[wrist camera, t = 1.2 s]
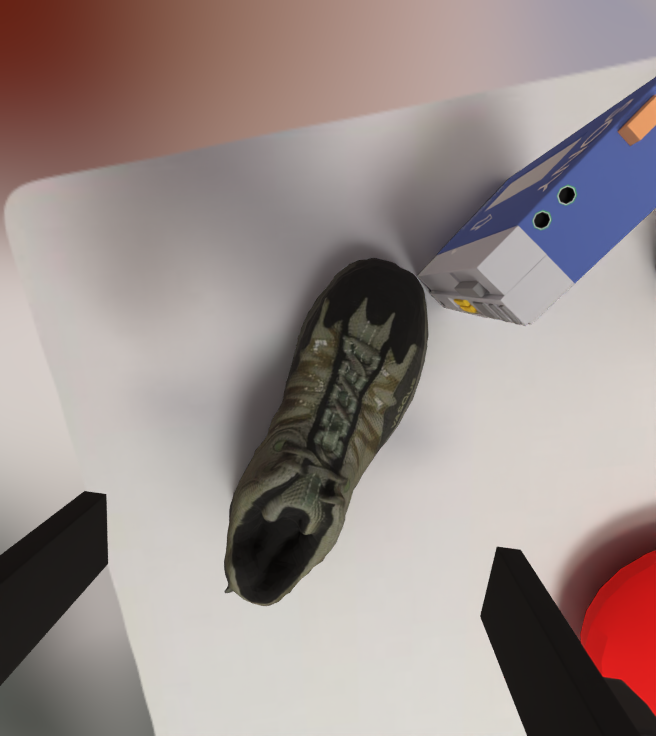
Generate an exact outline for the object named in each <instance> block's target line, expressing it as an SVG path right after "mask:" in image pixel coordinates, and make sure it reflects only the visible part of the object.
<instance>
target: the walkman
mask: <svg viewBox="0 0 656 736" xmlns="http://www.w3.org/2000/svg"><path fill="white" fill-rule="evenodd" d="M655 208H656V77H655V78H654V79H652V80H651V81H649V82H648V83H646V84H645V85H643V86H642V87H640V88H639V89H638V90H636V91H635V92H633V93H632V94H630V95H629V96H627V97H626V98H625V99H623V100H622V101H620V102H619V103H617V104H616V105H614V106H613V107H612V108H610V109H609V110H607V111H606V112H604V113H603V114H601V115H600V116H599V117H597V118H596V119H594V120H593V121H591V122H590V123H588V124H587V125H585V126H584V127H583V128H581V129H580V130H578V131H577V132H575V133H574V134H572V135H571V136H570V137H568V138H567V139H565V140H564V141H562V142H561V143H559V144H558V145H557V146H555V147H554V148H552V149H551V150H549V151H548V152H546V153H545V154H544V155H542V156H541V157H539V158H538V159H536V160H535V161H533V162H532V163H531V164H529V165H528V166H526V167H525V168H523V169H522V170H520V171H519V172H517V173H516V174H515V175H513V176H512V177H510V178H509V179H508V180H507V181H506V182H505V183H504V184H503V185H502V186H501V187H500V188H499V190H498V191H497V192H496V193H495V194H494V195H493V196H492V197H491V198H490V199H489V200H488V201H487V202H486V203H485V204H484V205H483V206H482V207H481V208H480V210H479V211H478V212H477V213H476V214H475V215H474V216H473V217H472V218H471V219H470V220H469V221H468V222H467V223H466V224H465V225H464V226H463V227H462V228H461V230H460V231H459V232H458V233H457V234H456V235H455V236H454V237H453V238H452V239H451V240H450V241H449V242H448V243H447V244H446V245H445V246H444V247H443V249H442V250H441V251H440V252H439V253H438V254H437V256H436V257H435V258H434V259H433V260H432V261H431V262H430V263H429V264H428V265H427V266H426V267H425V268H424V269H423V270H422V272H421V273H420V274H419V275H418V276H417V277H418V278H419V279H420V280H421V281H422V282H423V283H424V284H425V285H426V286H427V287H428V288H429V289H430V290H432V291H431V292H430V294H431V295H432V296H433V297H434V298H435V299H436V300H437V301H438V302H439V303H440V304H441V305H442V306H443V307H444V308H448V309H452V310H456V311H460V312H464V313H468V314H473V315H477V316H481V317H485V318H488V317H489V318H493V319H498V320H503V321H506V322H511V323H515V324H519V325H524V326H526V325H527V324H532V323H533V322H535V321H536V320H537V319H538V318H539V317H540V316H541V315H542V314H543V313H544V312H545V311H546V310H547V309H548V308H549V307H551V306H552V305H553V304H554V303H555V302H556V301H557V300H558V299H559V298H560V297H561V296H562V295H563V294H564V293H566V292H567V291H568V290H569V289H570V288H571V287H572V286H573V285H574V284H575V283H576V282H577V281H578V280H579V279H580V278H581V277H582V276H583V275H584V274H585V273H586V272H587V271H589V270H590V269H591V268H592V267H593V266H594V265H595V264H596V263H597V262H598V261H599V260H600V259H601V258H602V257H604V256H605V255H606V254H607V253H608V252H609V251H610V250H611V249H612V248H613V247H614V246H615V245H616V244H617V243H618V242H620V241H621V240H622V239H623V238H624V237H625V236H626V235H627V234H628V233H629V232H630V231H631V230H632V229H633V228H635V227H636V226H637V225H638V224H639V223H640V222H641V221H642V220H643V219H644V218H645V217H646V216H647V215H648V214H649V213H651V212H652V211H653V210H654V209H655Z"/></svg>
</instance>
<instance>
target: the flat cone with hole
mask: <svg viewBox="0 0 656 736" xmlns="http://www.w3.org/2000/svg"><path fill="white" fill-rule="evenodd" d="M580 637H581V644H582V645H583V647H584V649H585V650H586V652H587V653H588V655H589V656H590V658H591V659H592V661H593V662H594V664H595V666H596V667H597V669H598V670H599V672H600V673H601V675H602V676H603V677H608V678H615V679H621V680H623V681H624V682H625V683H626V684H627V685H628V686H629V687H630V688H631V689H632V690H633V691H634V692H635V693H636V694H637V695H638V696H639V697H640V698H641V699H642V700H643V701H644V702H645V703H646V704H647V705H648V706H649V708H650V709H651V711H652V712H653V713H654V715H655V716H656V550H655V551H652V552H649V553H647V554H645V555H643V556H642V557H640V558H638V559H637V560H635V561H633V562H632V563H630V564H628V565H626V566H625V567H623V568H621V569H620V570H619V571H618V572H617V573H616V574H615V575H614V576H613V577H612V578H611V579H610V580H609V581H607V582H606V583H605V584H604V585H603V586H602V587H601V588H600V589H599V591H598V593H597V594H596V596H595V597H594V599H593V601H592V602H591V604H590V606H589V607H588V609H587V611H586V614H585V618H584V621H583V625H582V629H581V633H580Z"/></svg>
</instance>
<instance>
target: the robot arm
mask: <svg viewBox="0 0 656 736" xmlns="http://www.w3.org/2000/svg"><path fill="white" fill-rule="evenodd" d="M107 564H108V541H107V502H106V494H102V493H94V492H87V491H84V492H83V493H81V494H80V495H79V496H77V497H76V498H75V499H74V500H72V501H71V502H70V503H68V504H67V505H66V506H64V507H63V508H62V509H60V510H59V511H58V512H56V513H55V514H54V515H52V516H51V517H50V518H49V519H47V520H46V521H45V522H43V523H42V524H41V525H39V526H38V527H37V528H36V529H34V530H33V531H32V532H30V533H29V534H28V535H26V536H25V537H24V538H22V539H21V540H20V541H18V542H17V543H16V544H14V545H13V546H12V547H10V548H9V549H8V550H7V551H5V552H4V553H3V554H1V555H0V686H1V684H2V683H3V682H4V681H5V680H6V679H7V678H8V677H9V675H10V674H11V673H12V672H13V671H14V670H15V669H16V667H17V666H18V665H19V664H20V663H21V662H22V661H23V659H24V658H25V657H26V656H27V655H28V654H29V653H30V652H31V650H32V649H33V648H34V647H35V646H36V645H37V644H38V643H39V641H40V640H41V639H42V638H43V637H44V636H45V635H46V633H47V632H48V631H49V630H50V629H51V628H52V627H53V625H54V624H55V623H56V622H57V621H58V620H59V619H60V618H61V616H62V615H63V614H64V613H65V612H66V611H67V610H68V608H69V607H70V606H71V605H72V604H73V603H74V601H76V599H77V598H78V597H79V596H80V595H81V594H82V593H83V592H84V590H85V589H86V588H87V587H88V586H89V585H90V584H91V582H92V581H93V580H94V579H95V578H96V577H97V576H98V574H99V573H100V572H101V571H102V570H103V569H104V568H105V567H106V565H107ZM480 617H481V620H482V622H483V625H484V627H485V630H486V632H487V635H488V637H489V640H490V642H491V645H492V648H493V650H494V653H495V655H496V658H497V660H498V663H499V665H500V668H501V670H502V673H503V676H504V678H505V681H506V683H507V686H508V688H509V691H510V693H511V696H512V698H513V701H514V704H515V706H516V709H517V711H518V714H519V716H520V719H521V721H522V724H523V726H524V729H525V732H526V734H527V736H656V716H655V715H654V713H653V712H652V711H651V709H650V708H649V706H648V705H647V704H646V703H645V702H644V701H643V700H642V699H641V698H640V697H639V696H638V695H637V694H636V693H635V692H634V691H633V690H632V689H631V688H630V687H629V686H628V685H627V684H626V683H625V682H624V681H623V680H621V679H615V678H608V677H603V676H602V675H601V673H600V672H599V670H598V669H597V667H596V666H595V664H594V662H593V661H592V659H591V658H590V656H589V655H588V653H587V652H586V650H585V649H584V647H583V645H582V644H581V642H580V641H579V639H578V638H577V636H576V635H575V633H574V632H573V630H572V628H571V627H570V625H569V624H568V622H567V621H566V619H565V618H564V616H563V615H562V613H561V611H560V610H559V608H558V607H557V605H556V604H555V602H554V601H553V599H552V598H551V596H550V594H549V593H548V591H547V590H546V588H545V587H544V585H543V584H542V582H541V581H540V579H539V577H538V576H537V574H536V573H535V571H534V570H533V568H532V567H531V565H530V564H529V562H528V560H527V559H526V557H525V556H524V554H523V553H522V551H521V550H518V549H511V548H503V547H497V548H496V552H495V557H494V561H493V565H492V569H491V573H490V578H489V582H488V586H487V590H486V594H485V598H484V603H483V607H482V611H481V615H480Z"/></svg>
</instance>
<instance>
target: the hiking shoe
mask: <svg viewBox="0 0 656 736" xmlns="http://www.w3.org/2000/svg"><path fill="white" fill-rule="evenodd" d="M427 340H428V321H427V308H426V301H425V294H424V290H423V288H422V286H421V284H420V282H419V281H418V279H417V278H416V276H415V275H414V274H412V273H411V272H409V271H407V270H404V269H402V268H400V267H399V266H397V265H396V264H395V263H392V262H389V261H384V260H380V259H376V258H371V259H367V260H359V261H356V262H353V263H351V264H349V265H348V266H347V267H345V268H344V269H343V270H342V271H340V272H339V273H338V274H337V275H336V276H335V277H334V279H333V280H332V281H331V283H330V284H329V285H328V286H327V287H326V289H325V290H324V291H323V293H322V294H321V295H320V296H319V297H318V298H317V300H316V301H315V303H314V305H313V307H312V309H311V310H310V311H309V312H308V314H307V317H306V319H305V321H304V323H303V326H302V328H301V331H300V334H299V336H298V341H297V345H296V349H295V353H294V357H293V362H292V365H291V368H290V372H289V375H288V378H287V381H286V386H285V391H284V396H283V401H282V404H281V406H280V408H279V410H278V412H277V413H276V414H275V416H274V418H273V420H272V422H271V425H270V427H269V430H268V434H267V437H266V438H265V440H264V441H263V442H262V444H261V445H260V446H259V447H258V448H257V449H256V451H255V453H254V456H253V458H252V460H251V462H250V464H249V465H248V467H247V469H246V471H245V472H244V474H243V476H242V478H241V480H240V482H239V484H238V486H237V488H236V490H235V492H234V494H233V499H232V502H231V505H230V511H229V528H228V534H227V546H226V554H225V559H224V570H225V575H226V578H227V581H228V587H227V589H226V590H225V593H230V592H233V591H234V592H235V593H236V594H238V595H239V596H240V597H241V598H243V599H244V600H246V601H249V602H251V603H254V604H257V605H261V606H269V605H272V604H274V603H277V602H279V601H280V600H281V599H282V598H283V597H284V596H285V595H286V594H288V593H290V592H291V591H292V589H293V588H294V587H295V585H296V584H297V583H298V582H299V581H300V580H301V579H302V578H303V577H304V576H306V575H307V574H308V573H309V572H310V571H311V569H312V568H313V567H315V566H316V565H317V564H319V563H320V562H322V561H323V560H324V558H325V556H326V555H327V554H328V553H329V552H330V551H331V549H332V548H333V547H334V545H335V544H336V542H337V539H338V537H339V534H340V532H341V530H342V527H343V524H344V521H345V515H346V512H347V509H348V506H349V503H350V500H351V496H352V493H353V490H354V488H355V487H356V485H357V484H358V482H359V480H360V478H361V476H362V475H363V473H364V472H365V470H366V469H367V467H368V466H369V464H370V463H371V461H372V460H373V458H374V457H375V455H376V454H377V452H378V451H379V449H380V448H381V447H382V446H383V445H384V444H385V443H386V442H387V440H388V439H389V437H390V436H391V434H392V433H393V432H394V430H395V429H396V428H397V426H398V425H399V423H400V421H401V419H402V417H403V415H404V413H405V412H406V410H407V408H408V407H409V405H410V403H411V401H412V400H413V397H414V394H415V391H416V388H417V385H418V383H419V380H420V377H421V372H422V369H423V365H424V361H425V355H426V350H427Z"/></svg>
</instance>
